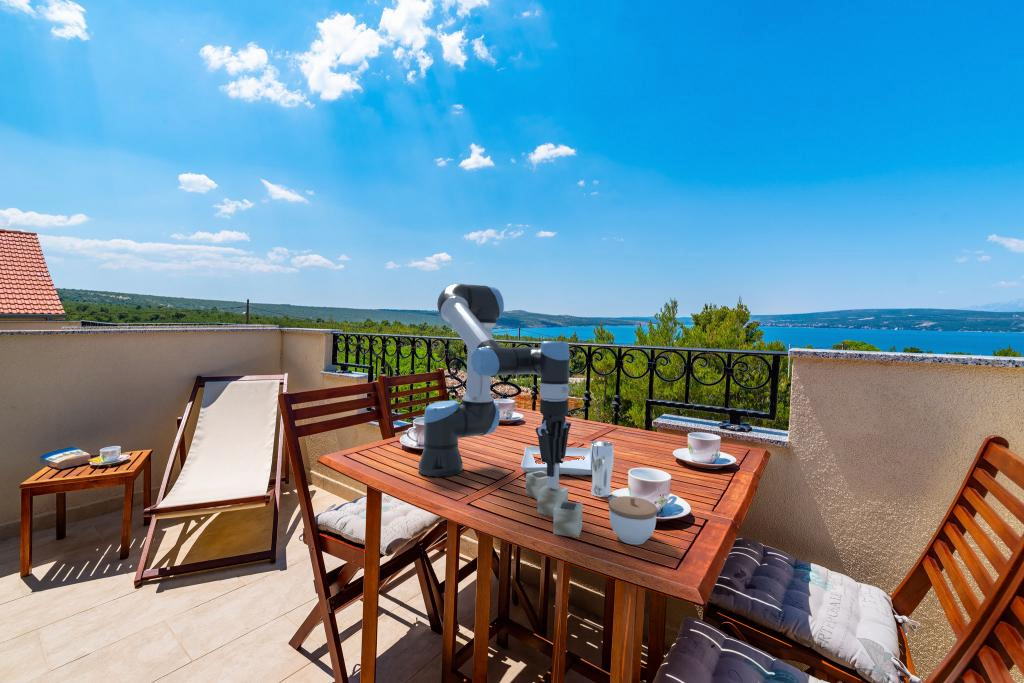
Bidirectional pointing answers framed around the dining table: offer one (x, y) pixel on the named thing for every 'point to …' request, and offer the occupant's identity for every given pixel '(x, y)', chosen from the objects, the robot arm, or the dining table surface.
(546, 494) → the plain block
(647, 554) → the dining table surface
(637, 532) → the lidded jar
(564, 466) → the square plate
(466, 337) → the robot arm
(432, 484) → the dining table surface
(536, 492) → the marked block
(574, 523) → the marked block
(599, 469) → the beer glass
